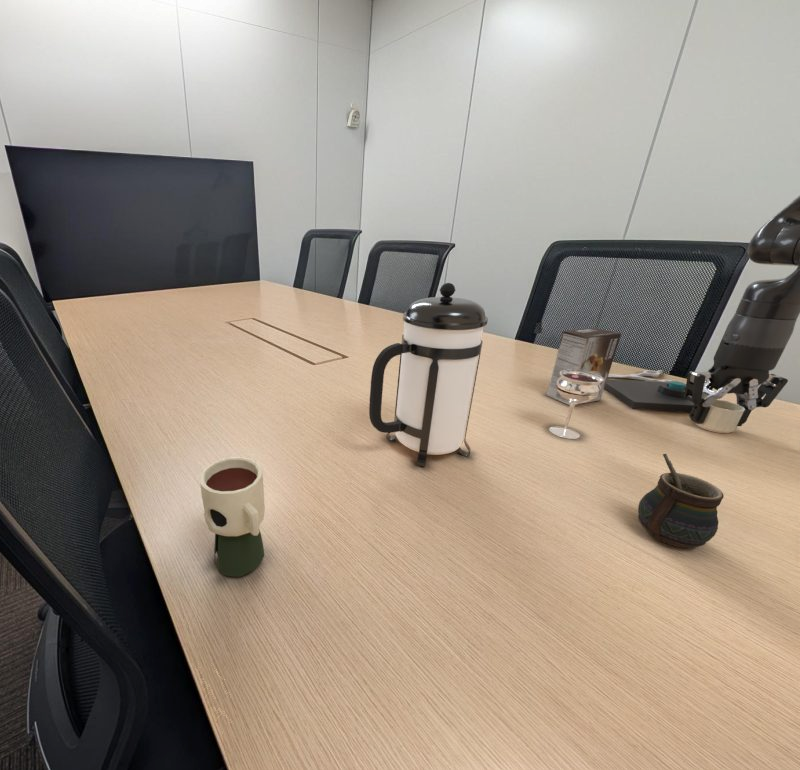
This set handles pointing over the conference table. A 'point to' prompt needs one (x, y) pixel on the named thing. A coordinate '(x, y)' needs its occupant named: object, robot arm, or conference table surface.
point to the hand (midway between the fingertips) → (714, 422)
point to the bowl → (722, 417)
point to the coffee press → (432, 374)
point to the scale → (649, 395)
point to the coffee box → (584, 356)
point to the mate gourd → (681, 509)
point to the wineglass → (576, 395)
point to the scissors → (645, 373)
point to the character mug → (234, 512)
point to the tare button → (677, 385)
